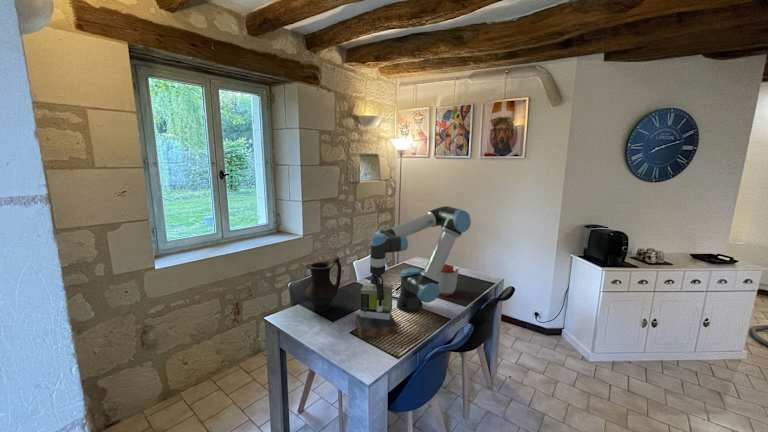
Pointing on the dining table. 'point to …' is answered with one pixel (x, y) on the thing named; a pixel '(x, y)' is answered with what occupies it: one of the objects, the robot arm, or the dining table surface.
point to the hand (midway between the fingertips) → (376, 305)
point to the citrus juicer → (447, 280)
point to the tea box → (375, 302)
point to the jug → (322, 284)
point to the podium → (375, 326)
